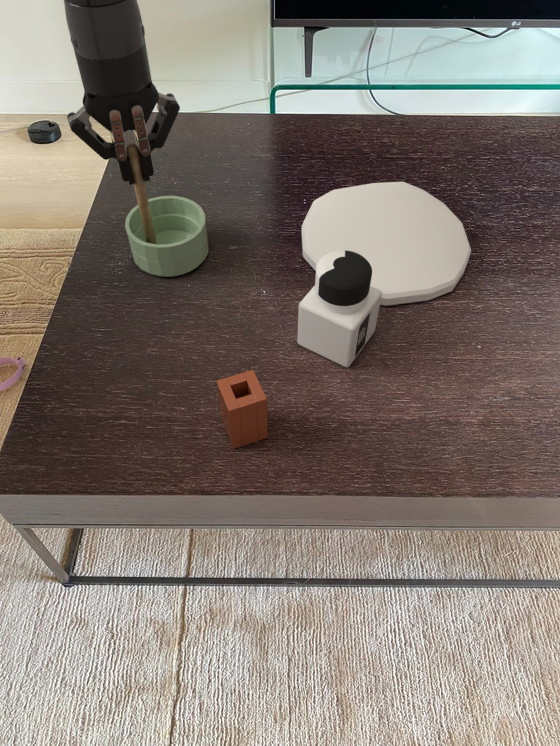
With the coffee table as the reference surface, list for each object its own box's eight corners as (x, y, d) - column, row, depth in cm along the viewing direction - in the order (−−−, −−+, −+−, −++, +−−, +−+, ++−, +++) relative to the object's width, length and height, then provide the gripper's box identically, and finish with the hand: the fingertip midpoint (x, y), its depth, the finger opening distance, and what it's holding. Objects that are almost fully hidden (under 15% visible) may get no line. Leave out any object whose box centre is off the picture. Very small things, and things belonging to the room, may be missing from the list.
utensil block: (233, 449, 72) (228, 410, 65) (221, 420, 74) (216, 380, 68) (267, 437, 73) (266, 398, 66) (255, 409, 75) (253, 369, 69)
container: (375, 331, 83) (389, 257, 72) (347, 369, 79) (358, 297, 68) (325, 308, 85) (332, 234, 75) (296, 344, 81) (298, 271, 71)
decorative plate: (283, 184, 95) (435, 163, 99) (283, 206, 99) (429, 185, 102) (327, 298, 81) (503, 269, 84) (325, 320, 84) (495, 291, 87)
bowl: (143, 287, 88) (135, 255, 83) (125, 238, 94) (117, 206, 89) (218, 267, 90) (215, 235, 85) (196, 221, 96) (192, 188, 92)
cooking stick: (150, 257, 88) (126, 148, 75) (148, 251, 89) (123, 142, 75) (159, 255, 89) (137, 145, 75) (157, 248, 89) (135, 139, 76)
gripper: (162, 13, 69) (181, 152, 83) (37, 34, 66) (79, 174, 80) (180, 43, 65) (198, 184, 78) (48, 66, 62) (90, 209, 75)
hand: (138, 179), depth 79 cm, fingers closed on cooking stick, 1 cm apart
